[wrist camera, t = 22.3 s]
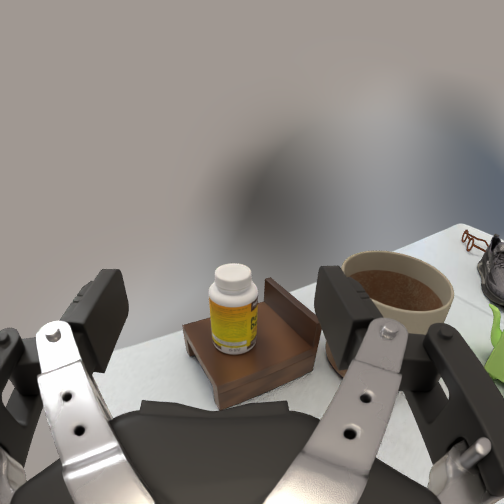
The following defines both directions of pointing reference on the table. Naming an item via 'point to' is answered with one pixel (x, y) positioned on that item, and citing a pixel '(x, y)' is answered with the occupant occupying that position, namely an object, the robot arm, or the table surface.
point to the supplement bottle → (233, 309)
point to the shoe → (493, 271)
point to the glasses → (473, 241)
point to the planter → (400, 289)
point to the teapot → (496, 348)
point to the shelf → (259, 349)
